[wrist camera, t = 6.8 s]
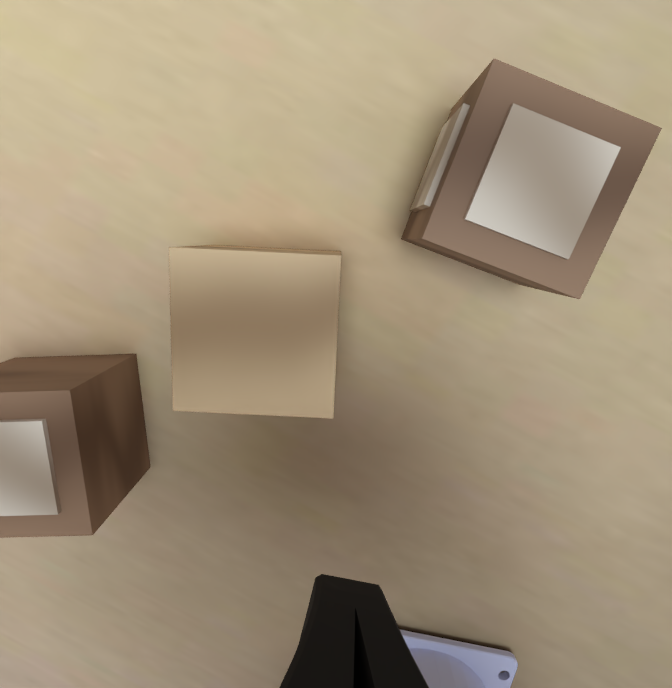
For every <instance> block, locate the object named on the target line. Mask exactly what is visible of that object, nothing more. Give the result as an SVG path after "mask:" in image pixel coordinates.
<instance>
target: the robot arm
mask: <svg viewBox="0 0 672 688" xmlns="http://www.w3.org/2000/svg"><path fill="white" fill-rule="evenodd" d="M517 667H518V663H517V660H516V658H515V656H514V654H512V653H511V652H509V651H504V650H499V649H495V648H490V647H485V646H480V645H475V644H470V643H465V642H460V641H455V640H450V639H445V638H440V637H435V636H430V635H425V634H420V633H415V632H410V631H405V630H400V629H399V627H398V625H397V623H396V621H395V619H394V616H393V614H392V612H391V610H390V608H389V605H388V603H387V601H386V598H385V596H384V594H383V591H382V590H381V588H380V586H379V585H376V584H371V583H366V582H360V581H355V580H350V579H345V578H340V577H334V576H329V575H324V574H321V575H320V576H318V577H316V578H315V582H314V586H313V590H312V594H311V598H310V602H309V606H308V610H307V614H306V618H305V622H304V626H303V630H302V634H301V638H300V642H299V645H298V648H297V650H296V653H295V655H294V658H293V660H292V662H291V664H290V666H289V669H288V671H287V673H286V675H285V677H284V679H283V681H282V684H281V686H280V688H510V687H511V684H512V681H513V679H514V676H515V673H516V670H517ZM501 671H505V672H503V673H500V672H501Z"/></svg>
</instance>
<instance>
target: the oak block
mask: <svg viewBox="0 0 672 688" xmlns="http://www.w3.org/2000/svg"><path fill="white" fill-rule="evenodd" d="M340 272H341V251H323V250H303V249H282V248H262V247H241V246H220V245H205V246H185V247H169V277H170V316H171V356H172V396H173V411H187V412H208V413H229V414H250V415H271V416H292V417H313V418H333V415H334V394H335V374H336V354H337V333H338V313H339V292H340Z"/></svg>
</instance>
